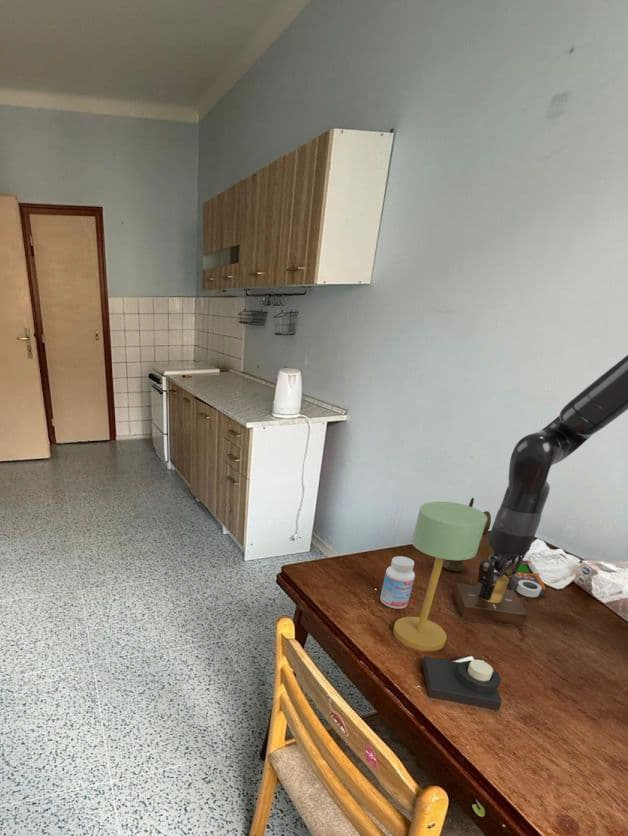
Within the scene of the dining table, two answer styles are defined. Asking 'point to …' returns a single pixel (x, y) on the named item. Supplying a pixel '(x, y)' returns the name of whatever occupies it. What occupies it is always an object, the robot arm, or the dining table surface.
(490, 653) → the dining table surface
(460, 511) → the table lamp
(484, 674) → the lamp switch
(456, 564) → the kendama
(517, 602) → the dimmer
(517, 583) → the electronic device
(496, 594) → the dimmer knob
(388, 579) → the pill bottle
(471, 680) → the switch base
